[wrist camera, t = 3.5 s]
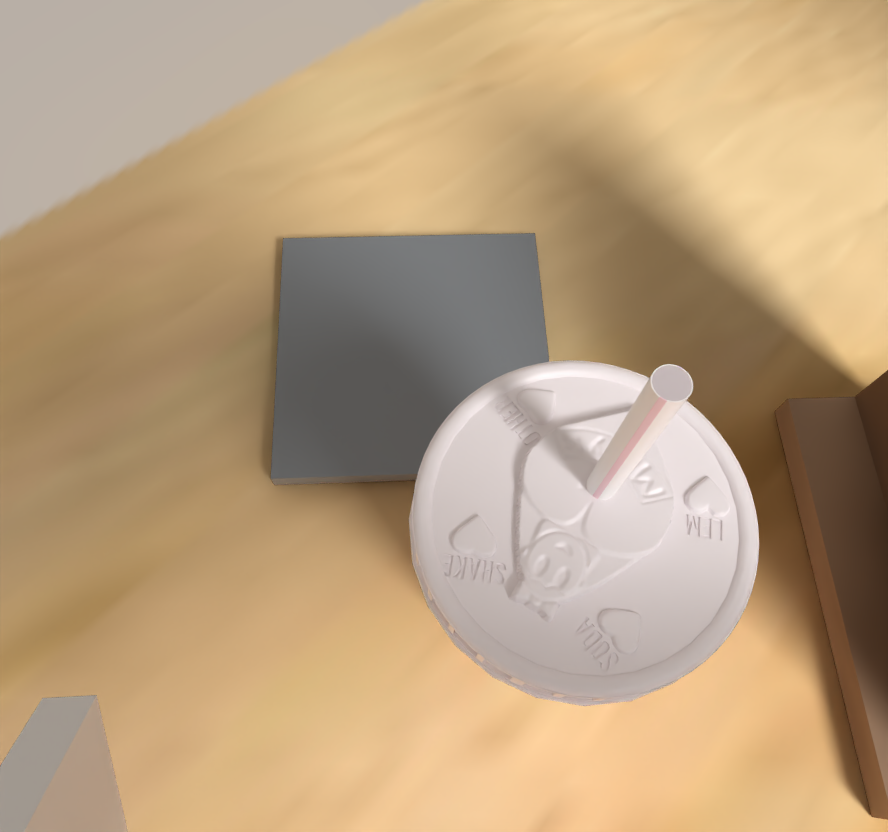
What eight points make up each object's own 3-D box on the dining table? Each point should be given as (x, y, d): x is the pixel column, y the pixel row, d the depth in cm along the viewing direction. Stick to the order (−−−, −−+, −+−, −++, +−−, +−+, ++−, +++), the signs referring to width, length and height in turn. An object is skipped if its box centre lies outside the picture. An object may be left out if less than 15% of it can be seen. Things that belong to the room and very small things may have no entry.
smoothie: (664, 570, 23) (972, 348, 10) (566, 768, 21) (800, 807, 8) (483, 464, 24) (551, 146, 11) (372, 640, 22) (297, 492, 9)
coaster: (532, 243, 28) (535, 233, 27) (557, 475, 24) (561, 469, 23) (286, 248, 27) (283, 238, 27) (274, 484, 24) (270, 478, 23)
